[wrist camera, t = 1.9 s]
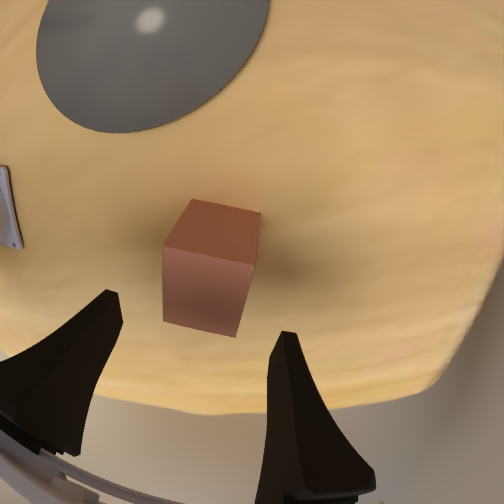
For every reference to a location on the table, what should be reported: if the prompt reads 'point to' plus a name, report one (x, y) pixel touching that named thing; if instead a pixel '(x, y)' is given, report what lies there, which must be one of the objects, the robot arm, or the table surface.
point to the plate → (142, 57)
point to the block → (209, 267)
